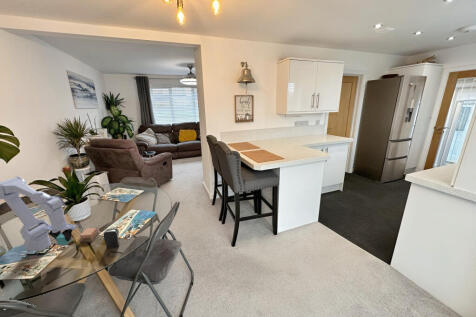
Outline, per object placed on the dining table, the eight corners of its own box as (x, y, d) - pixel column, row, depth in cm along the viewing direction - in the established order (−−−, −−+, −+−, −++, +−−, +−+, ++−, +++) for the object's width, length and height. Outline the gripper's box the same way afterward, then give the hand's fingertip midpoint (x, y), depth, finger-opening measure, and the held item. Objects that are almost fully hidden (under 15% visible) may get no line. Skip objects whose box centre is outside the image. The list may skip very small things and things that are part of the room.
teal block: (58, 245, 99) (55, 237, 97) (63, 239, 103) (61, 232, 101) (66, 245, 99) (63, 237, 98) (71, 239, 103) (69, 232, 101)
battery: (121, 242, 113) (118, 226, 110) (119, 246, 110) (116, 231, 106) (108, 243, 111) (105, 228, 108) (105, 248, 108) (102, 232, 104)
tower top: (80, 238, 112) (79, 235, 111) (86, 231, 117) (86, 228, 117) (91, 238, 113) (90, 234, 112) (97, 231, 118) (96, 228, 118)
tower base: (79, 243, 112) (78, 239, 111) (87, 234, 118) (86, 231, 118) (92, 242, 113) (91, 239, 112) (99, 234, 119) (98, 231, 118)
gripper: (35, 225, 92) (43, 246, 96) (67, 224, 93) (73, 245, 98) (47, 216, 98) (54, 236, 102) (77, 215, 100) (82, 235, 104)
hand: (64, 240), depth 100 cm, fingers closed on teal block, 4 cm apart
